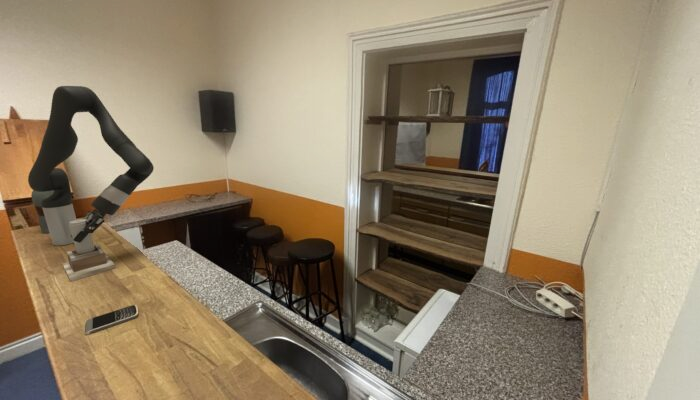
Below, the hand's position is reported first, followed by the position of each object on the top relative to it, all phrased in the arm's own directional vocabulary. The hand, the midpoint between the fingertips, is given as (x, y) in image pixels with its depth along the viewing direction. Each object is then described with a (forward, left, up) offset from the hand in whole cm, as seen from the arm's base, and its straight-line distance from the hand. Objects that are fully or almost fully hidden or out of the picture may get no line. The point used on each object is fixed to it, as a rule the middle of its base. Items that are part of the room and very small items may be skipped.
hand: (75, 239), depth 98 cm
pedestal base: (-1, +2, -12) cm, 12 cm away
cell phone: (+38, +22, -12) cm, 46 cm away
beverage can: (-1, +2, -6) cm, 6 cm away
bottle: (-56, -33, -12) cm, 66 cm away
